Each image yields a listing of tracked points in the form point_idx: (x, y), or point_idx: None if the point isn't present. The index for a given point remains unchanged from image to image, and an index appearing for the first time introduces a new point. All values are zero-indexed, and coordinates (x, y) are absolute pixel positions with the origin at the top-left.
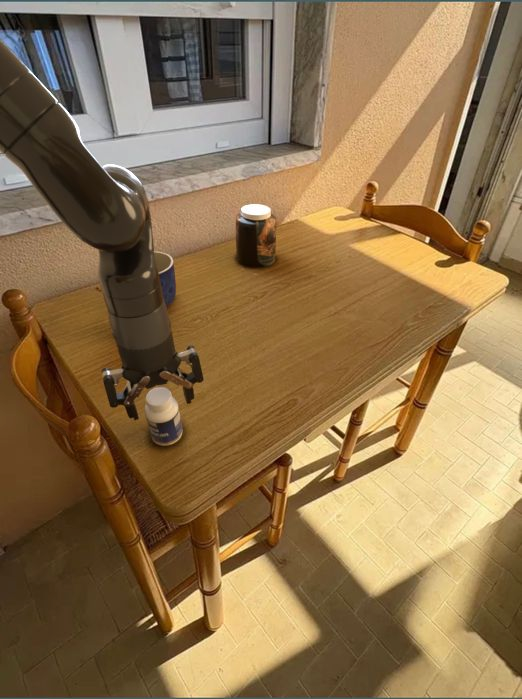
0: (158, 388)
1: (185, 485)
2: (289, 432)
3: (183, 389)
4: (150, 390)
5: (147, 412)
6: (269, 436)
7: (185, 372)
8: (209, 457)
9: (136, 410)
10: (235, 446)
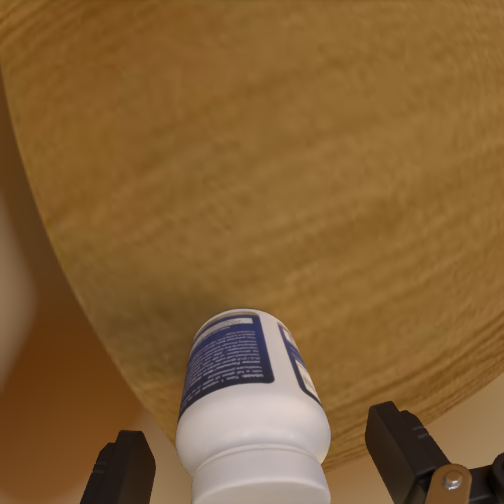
0: (271, 487)
1: None
2: (491, 381)
3: (393, 455)
4: (219, 489)
5: (192, 475)
6: (463, 389)
7: (467, 501)
8: (335, 431)
9: (142, 470)
10: (399, 410)
